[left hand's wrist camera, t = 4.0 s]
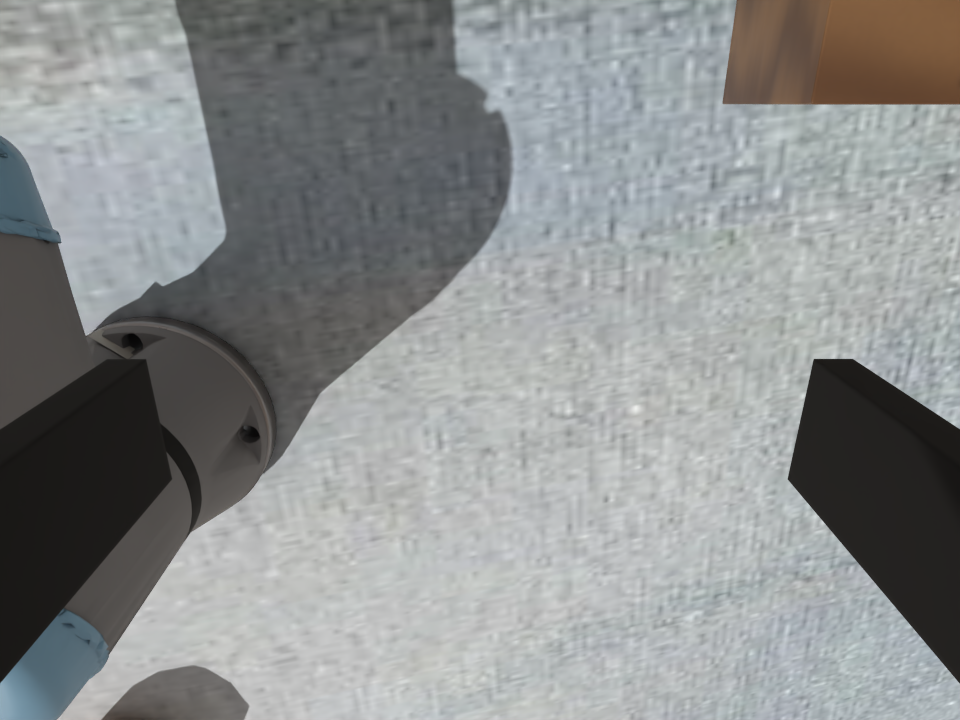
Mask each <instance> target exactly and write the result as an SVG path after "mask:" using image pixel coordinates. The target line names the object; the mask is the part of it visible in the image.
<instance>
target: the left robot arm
mask: <svg viewBox="0 0 960 720" xmlns="http://www.w3.org/2000/svg"><path fill="white" fill-rule="evenodd" d="M58 243H62V242H61V239H60V235H59V233H58V231H56V230H54V229H53V228H52V226H51V223H50V220H49V218H48V215H47V213H46V210H45V207H44V205H43V202H42V200H41V197H40V194H39V192H38V189H37V187H36V184H35V181H34V179H33V176H32V173H31V170H30V168H29V165H28V163H27V161H26V160H25V158H24V157H23V155H22V154H21V153H20V151H19V150H18V149H17V148H16V147H15V146H14V145H13V144H11V143H10V142H9V141H8V140H6V139H5V138H3V137H2V136H0V720H57V719H58V718H59V717H60V716H61V714H62V713H63V712H64V711H65V709H66V708H67V707H68V706H69V704H70V703H71V702H72V700H73V699H74V698H75V697H76V695H77V694H78V693H79V691H80V690H81V689H82V688H83V686H84V685H85V684H86V682H87V681H88V680H89V679H90V678H92V677H93V676H94V675H95V674H96V673H98V672H99V671H101V669H102V668H103V667H104V665H105V663H106V662H107V659H108V657H109V654H110V652H111V651H112V649H113V648H114V646H115V645H116V643H117V642H118V640H119V639H120V637H121V636H122V634H123V633H124V631H125V630H126V628H127V627H128V625H129V624H130V622H131V621H132V619H133V618H134V616H135V615H136V613H137V612H138V610H139V609H140V607H141V606H142V604H143V603H144V601H145V600H146V598H147V597H148V595H149V594H150V592H151V591H152V589H153V588H154V586H155V585H156V583H157V582H158V580H159V579H160V577H161V576H162V574H163V573H164V571H165V570H166V568H167V567H168V565H169V564H170V562H171V561H172V559H173V558H174V556H175V555H176V553H177V552H178V550H179V549H180V547H181V546H182V544H183V542H184V541H185V540H186V538H187V537H188V535H189V534H190V532H192V531H194V530H195V529H197V528H198V527H200V526H201V525H203V524H205V523H206V522H208V521H209V520H211V519H213V518H214V517H216V516H217V515H219V514H220V513H222V512H224V511H225V510H227V509H228V508H230V507H232V506H233V505H234V504H236V503H237V502H239V501H240V500H241V499H242V498H243V497H245V496H246V495H247V494H248V493H249V492H250V490H251V489H252V488H253V487H254V485H255V484H256V483H257V481H258V480H259V478H260V476H261V475H262V473H263V471H264V470H265V468H266V466H267V464H268V463H269V461H270V458H271V455H272V453H273V449H274V445H275V439H276V419H275V413H274V408H273V405H272V402H271V399H270V396H269V394H268V391H267V389H266V387H265V385H264V384H263V382H262V380H261V379H260V377H259V376H258V374H257V372H256V371H255V370H254V369H253V367H252V366H251V365H250V364H249V363H248V361H247V360H246V359H245V358H244V357H243V356H242V355H241V354H240V353H238V352H237V351H236V350H235V349H234V348H233V347H231V346H230V345H229V344H227V343H226V342H225V341H223V340H222V339H220V338H218V337H217V336H215V335H214V334H212V333H210V332H208V331H206V330H204V329H202V328H199V327H197V326H194V325H192V324H188V323H185V322H182V321H178V320H174V319H168V318H161V317H136V318H129V319H124V320H120V321H116V322H113V323H111V324H108V325H106V326H104V327H102V328H100V329H98V330H96V331H94V332H92V333H91V334H89V335H87V336H85V333H84V330H83V326H82V323H81V320H80V317H79V314H78V310H77V307H76V304H75V301H74V298H73V294H72V291H71V288H70V284H69V281H68V277H67V274H66V270H65V267H64V263H63V260H62V256H61V253H60V249H59V246H58ZM788 480H789V481H790V482H791V484H792V485H793V486H794V487H795V488H796V490H797V491H798V492H799V493H800V494H801V496H802V497H803V498H804V499H805V500H806V501H807V503H808V504H809V505H810V506H811V507H812V509H813V510H814V511H815V512H816V513H817V515H818V516H819V517H820V518H821V519H822V520H823V522H824V523H825V524H826V525H827V526H828V528H829V529H830V530H831V531H832V532H833V533H834V535H835V536H836V537H837V538H838V539H839V541H840V542H841V543H842V544H843V545H844V547H845V548H846V549H847V550H848V551H849V552H850V554H851V555H852V556H853V557H854V558H855V560H856V561H857V562H858V563H859V564H860V566H861V567H862V568H863V569H864V570H865V571H866V573H867V574H868V575H869V576H870V577H871V579H872V580H873V581H874V582H875V583H876V585H877V586H878V587H879V588H880V589H881V590H882V592H883V593H884V594H885V595H886V596H887V598H888V599H889V600H890V601H891V602H892V604H893V605H894V606H895V607H896V608H897V609H898V611H899V612H900V613H901V614H902V615H903V617H904V618H905V619H906V620H907V621H908V622H909V624H910V625H911V626H912V627H913V628H914V630H915V631H916V632H917V633H918V634H919V636H920V637H921V638H922V639H923V640H924V641H925V643H926V644H927V645H928V646H929V647H930V649H931V650H932V651H933V652H934V653H935V655H936V656H937V657H938V658H939V659H940V660H941V662H942V663H943V664H944V665H945V666H946V668H947V669H948V670H949V671H950V672H951V674H952V675H953V676H954V677H955V678H956V679H957V681H958V682H959V683H960V429H958V428H957V427H955V426H954V425H952V424H951V423H949V422H948V421H946V420H945V419H943V418H942V417H940V416H939V415H937V414H936V413H934V412H933V411H931V410H929V409H928V408H926V407H925V406H923V405H922V404H920V403H919V402H917V401H916V400H914V399H913V398H911V397H910V396H908V395H907V394H905V393H904V392H902V391H901V390H899V389H898V388H896V387H895V386H893V385H891V384H890V383H888V382H887V381H885V380H884V379H882V378H881V377H879V376H878V375H876V374H875V373H873V372H872V371H870V370H869V369H867V368H866V367H864V366H863V365H861V364H860V363H858V362H856V361H855V360H853V359H814V361H813V365H812V370H811V374H810V379H809V384H808V388H807V393H806V397H805V402H804V407H803V411H802V416H801V420H800V425H799V430H798V434H797V439H796V443H795V448H794V453H793V457H792V462H791V466H790V471H789V476H788Z"/></svg>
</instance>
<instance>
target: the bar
mask: <svg viewBox="0 0 960 720" xmlns="http://www.w3.org/2000/svg"><path fill="white" fill-rule="evenodd" d="M723 104H960V0H737V4H736V11H735V18H734V25H733V32H732V39H731V46H730V53H729V61H728V68H727V75H726V82H725V89H724V96H723Z"/></svg>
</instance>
